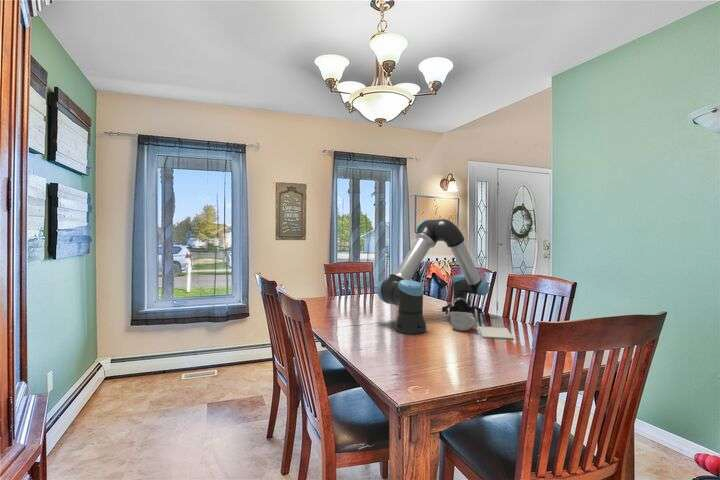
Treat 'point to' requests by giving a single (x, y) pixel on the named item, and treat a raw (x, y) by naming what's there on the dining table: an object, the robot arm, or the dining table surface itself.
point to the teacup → (462, 320)
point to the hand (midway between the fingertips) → (462, 313)
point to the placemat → (495, 332)
